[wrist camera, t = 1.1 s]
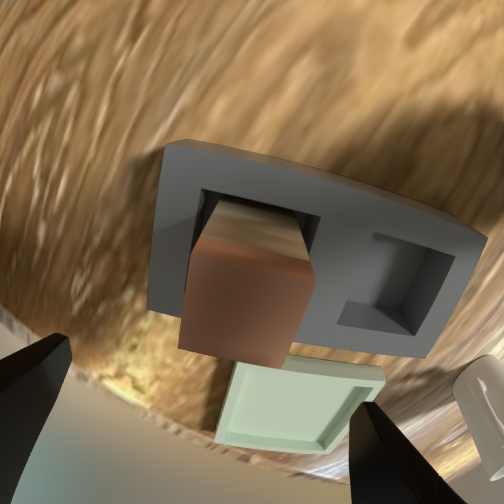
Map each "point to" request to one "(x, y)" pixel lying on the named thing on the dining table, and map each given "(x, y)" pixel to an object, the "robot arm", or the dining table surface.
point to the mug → (484, 410)
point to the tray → (294, 404)
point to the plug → (246, 284)
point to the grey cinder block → (323, 247)
